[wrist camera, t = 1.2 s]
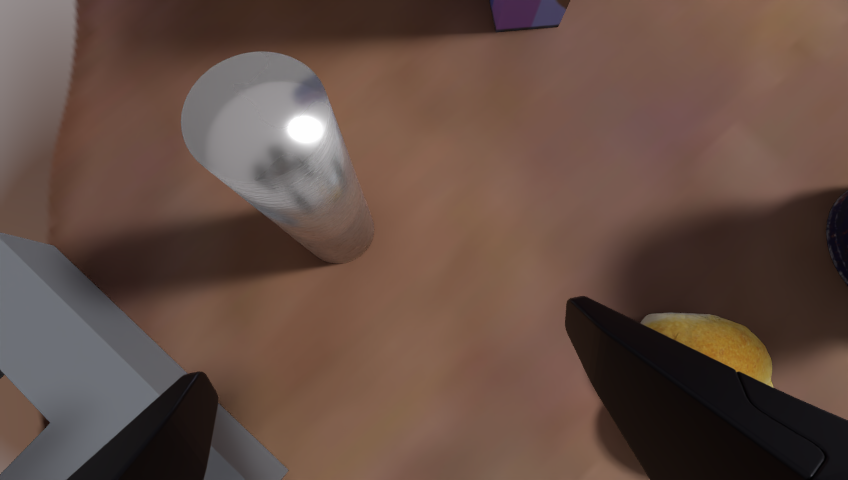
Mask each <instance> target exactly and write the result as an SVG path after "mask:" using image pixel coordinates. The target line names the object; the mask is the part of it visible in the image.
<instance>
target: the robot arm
mask: <svg viewBox="0 0 848 480" xmlns="http://www.w3.org/2000/svg"><path fill="white" fill-rule="evenodd" d="M565 327H566V331H567V333H568V336H569V338H570V340H571V342H572V344H573V346H574V348H575V350H576V352H577V354H578V356H579V359H580V361H581V363H582V365H583V367H584V369H585V371H586V373H587V375H588V377H589V379H590V381H591V383H592V385H593V387H594V389H595V391H596V392H597V394H598V396H599V397H600V399H601V400H602V402H603V404H604V405H605V407H606V409H607V410H608V412H609V413H610V415H611V417H612V418H613V420H614V422H615V423H616V425H617V426H618V428H619V430H620V431H621V433H622V435H623V436H624V438H625V439H626V441H627V443H628V444H629V446H630V448H631V449H632V451H633V452H634V454H635V456H636V457H637V459H638V461H639V462H640V464H641V465H642V467H643V469H644V470H645V472H646V474H647V475H648V477H649V478H650V480H848V420H846V419H843V418H841V417H839V416H836V415H834V414H832V413H829V412H827V411H825V410H822V409H820V408H818V407H815V406H813V405H811V404H809V403H806V402H804V401H802V400H799V399H797V398H795V397H792V396H790V395H788V394H786V393H784V392H782V391H780V390H778V389H775V388H773V387H771V386H769V385H767V384H765V383H763V382H760V381H758V380H756V379H754V378H752V377H750V376H748V375H746V374H744V373H742V372H740V371H738V372H736V370H735V369H733V368H731V367H729V366H727V365H725V364H723V363H721V362H719V361H717V360H715V359H713V358H711V357H709V356H707V355H705V354H703V353H701V352H699V351H697V350H694V349H692V348H690V347H688V346H686V345H684V344H682V343H680V342H678V341H676V340H674V339H672V338H670V337H668V336H666V335H664V334H662V333H660V332H658V331H656V330H653V329H651V328H649V327H647V326H645V325H643V324H641V323H639V322H637V321H635V320H633V319H631V318H629V317H627V316H625V315H623V314H621V313H619V312H617V311H614V310H612V309H610V308H608V307H606V306H604V305H602V304H600V303H598V302H596V301H594V300H592V299H590V298H588V297H585V296H579V297H574V298H570V299H568V301H567V305H566V317H565ZM217 408H218V395H217V393H216V391H215V389H214V387H213V386H212V384H211V382H210V381H209V379H208V377H207V376H206V374H205V373H203V372H194V373H189V374H185V375H183V376H181V377H180V378H179V379H178V380H177V381H176V382H175V383H173V384H172V385H171V386H170V387H169V388H168V389H167V390H166V391H165V392H163V393H162V394H161V395H160V396H159V397H158V398H157V399H156V400H155V401H153V402H152V403H151V404H150V405H149V406H148V407H147V408H146V409H144V410H143V411H142V412H141V413H140V414H139V415H138V416H137V417H136V418H134V419H133V420H132V421H131V422H130V423H129V424H128V425H127V426H126V427H124V428H123V429H122V430H121V431H120V432H119V433H118V434H117V435H116V436H114V437H113V438H112V439H111V440H110V441H109V442H108V443H107V444H105V445H104V446H103V447H102V448H101V449H100V450H99V451H98V452H97V453H95V454H94V455H93V456H92V457H91V458H90V459H89V460H88V461H86V462H85V463H84V464H83V465H82V466H81V467H80V468H79V469H78V470H76V471H75V472H74V473H73V474H72V475H71V476H70V477H69V478H68V479H66V480H204V477H205V473H206V469H207V464H208V459H209V454H210V448H211V442H212V437H213V431H214V425H215V420H216V414H217Z"/></svg>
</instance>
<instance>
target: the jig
mask: <svg viewBox="0 0 848 480" xmlns="http://www.w3.org/2000/svg"><path fill="white" fill-rule="evenodd" d="M185 374H187V373H186V372H185V371H184V370H183V369H182V368H181V367H180V366H179V365H178V364H177V363H176V362H175V361H174V360H173V359H172V358H171V357H170V356H169V355H168V354H167V353H165V352H164V351H163V350H162V349H161V348H160V347H159V346H158V345H157V344H156V343H155V342H154V341H153V340H152V339H151V338H150V337H149V336H148V335H147V334H146V333H145V332H144V331H143V330H141V329H140V328H139V327H138V326H137V325H136V324H135V323H134V322H133V321H132V320H131V319H130V318H129V317H128V316H127V315H126V314H125V313H124V312H123V311H122V310H121V309H120V308H118V307H117V306H116V305H115V304H114V303H113V302H112V301H111V300H110V299H109V298H108V297H107V296H106V295H105V294H104V293H103V292H102V291H101V290H100V289H99V288H98V287H97V286H95V285H94V284H93V283H92V282H91V281H90V280H89V279H88V278H87V277H86V276H85V275H84V274H83V273H82V272H81V271H80V270H79V269H78V268H77V267H76V266H75V265H74V264H72V263H71V262H70V261H69V260H68V259H67V258H66V257H65V256H64V255H63V254H62V253H61V252H60V251H59V250H58V249H57V248H56V247H55V246H53V245H49V244H45V243H41V242H37V241H33V240H29V239H25V238H21V237H16V236H12V235H8V234H4V233H0V378H1V377H3V375H6V376H7V378H8V379H9V380H10V381H11V382H12V383H13V384H14V385H15V386H16V387H17V388H18V389H19V390H20V391H21V392H22V393H23V394H24V396H26V398H27V399H28V400H29V401H30V402H31V403H32V404H33V405H34V406H35V407H36V408H37V409H38V410H39V411H40V412H41V414H42V415H43V416H44V417H45V418H46V419H47V420H48V421H49V422H50V424H49V425H48V426H47V427H46V428H45V429H44V430H43V431H42V432H41V433H40V434H39V435H38V436H37V437H36V438H35V439H34V440H33V441H32V442H31V443H30V444H29V446H27V448H25V450H24V451H23V452H22V453H21V454H20V455H19V456H18V457H17V458H16V459H15V460H14V461H13V462H12V463H11V464H10V465H9V466H8V467H7V468H6V469H5V470H4V471H3V472H2V473H1V474H0V480H66V479H68V478H69V477H70V476H71V475H72V474H73V473H74V472H75V471H76V470H78V469H79V468H80V467H81V466H82V465H83V464H84V463H85V462H86V461H88V460H89V459H90V458H91V457H92V456H93V455H94V454H95V453H97V452H98V451H99V450H100V449H101V448H102V447H103V446H104V445H105V444H107V443H108V442H109V441H110V440H111V439H112V438H113V437H114V436H116V435H117V434H118V433H119V432H120V431H121V430H122V429H123V428H124V427H126V426H127V425H128V424H129V423H130V422H131V421H132V420H133V419H134V418H136V417H137V416H138V415H139V414H140V413H141V412H142V411H143V410H144V409H146V408H147V407H148V406H149V405H150V404H151V403H152V402H153V401H155V400H156V399H157V398H158V397H159V396H160V395H161V394H162V393H163V392H165V391H166V390H167V389H168V388H169V387H170V386H171V385H172V384H173V383H175V382H176V381H177V380H178V379H179V378H180V377H181V376H183V375H185ZM288 471H289V470H288V469H287V468H286V467H285V466H284V465H283V464H282V463H280V462H279V461H278V460H277V459H276V458H275V457H274V456H273V455H272V454H271V453H270V452H269V451H268V450H267V449H266V448H265V447H264V446H263V445H262V444H261V443H260V442H259V441H257V440H256V439H255V438H254V437H253V436H252V435H251V434H250V433H249V432H248V431H247V430H246V429H245V428H244V427H243V426H242V425H241V424H240V423H239V422H238V421H237V420H236V419H234V418H233V417H232V416H231V415H230V414H229V413H228V412H227V411H226V410H225V409H224V408H223V407H222V406H221V405H220V404H219V403H218V408H217V414H216V420H215V425H214V431H213V437H212V442H211V448H210V454H209V459H208V464H207V469H206V473H205V477H204V480H281V479H282V478H283V477H284V476H285V474H286V473H287V472H288Z"/></svg>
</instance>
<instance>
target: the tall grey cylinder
mask: <svg viewBox="0 0 848 480" xmlns="http://www.w3.org/2000/svg"><path fill="white" fill-rule="evenodd" d="M181 128H182V134H183V138H184V141H185V143H186V146H187V148H188V149H189V151H190V153H191V154H192V155H193V157H194V158H195V159H196V160H197V161H198V162H199V163H200V164H201V165H202V166H204V167H205V168H206V169H207V170H209V171H210V172H211V173H212V174H214V175H215V176H216V177H217V178H219V179H220V180H221V181H222V182H224V183H225V184H226V185H228V186H229V187H230V188H231V189H233V190H234V191H235V192H236V193H238V194H239V195H240V196H241V197H243V198H244V199H245V200H246V201H248V202H249V203H250V204H251V205H253V206H254V207H255V208H256V209H258V210H259V211H260V212H261V213H263V214H264V215H265V216H266V217H268V218H269V219H270V220H271V221H273V222H274V223H275V224H276V225H278V226H279V227H280V228H282V229H283V230H284V231H285V232H287V233H288V234H289V235H290V236H292V237H293V238H294V239H295V240H297V241H298V242H299V243H300V244H302V245H303V246H304V247H305V248H307V249H308V250H309V251H310V252H312V253H313V254H314V255H315V256H317V257H318V258H320V259H321V260H323V261H326V262H329V263H335V264H341V263H347V262H350V261H353V260H355V259H357V258H358V257H360V256H361V255H362V254H363V253H364V252H365V251H366V250H367V249H368V247H369V246H370V244H371V242H372V239H373V235H374V223H373V219H372V216H371V214H370V211H369V208H368V205H367V203H366V200H365V197H364V195H363V192H362V189H361V186H360V184H359V181H358V178H357V176H356V173H355V170H354V167H353V165H352V162H351V159H350V157H349V154H348V151H347V148H346V146H345V143H344V140H343V138H342V135H341V132H340V129H339V127H338V124H337V121H336V119H335V116H334V113H333V110H332V108H331V105H330V102H329V100H328V97H327V94H326V91H325V89H324V87H323V85H322V83H321V81H320V80H319V78H318V77H317V76H316V74H315V73H314V72H313V71H312V70H311V69H310V68H308V67H307V66H306V65H305V64H303V63H302V62H300V61H298V60H296V59H294V58H292V57H290V56H287V55H283V54H280V53H274V52H250V53H244V54H240V55H236V56H233V57H231V58H228V59H226V60H224V61H222V62H220V63H218V64H216V65H215V66H213V67H212V68H210V69H209V70H208V71H207V72H206V73H204V74H203V75H202V76H201V77H200V78H199V79H198V80H197V82H196V83H195V84H194V86H193V87H192V88H191V90H190V92H189V94H188V95H187V98H186V100H185V103H184V106H183V110H182V116H181Z"/></svg>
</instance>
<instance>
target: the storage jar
mask: <svg viewBox="0 0 848 480" xmlns="http://www.w3.org/2000/svg"><path fill="white" fill-rule="evenodd" d="M826 234H827V244H828V248H829V252H830V255H831V258H832V260H833V263H834V265H835V267H836V269H837V271H838V272H839V274H840V276H841V277H842V279H843V280H844V281H845V283H846V284H847V286H848V190H847V191H846V192H845V193H844V194H842V195H841V196H840V197H839V198H838V199H837V201H836V202H835V203H834V205H833V207H832V209H831V211H830V213H829V217H828V220H827V229H826Z"/></svg>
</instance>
